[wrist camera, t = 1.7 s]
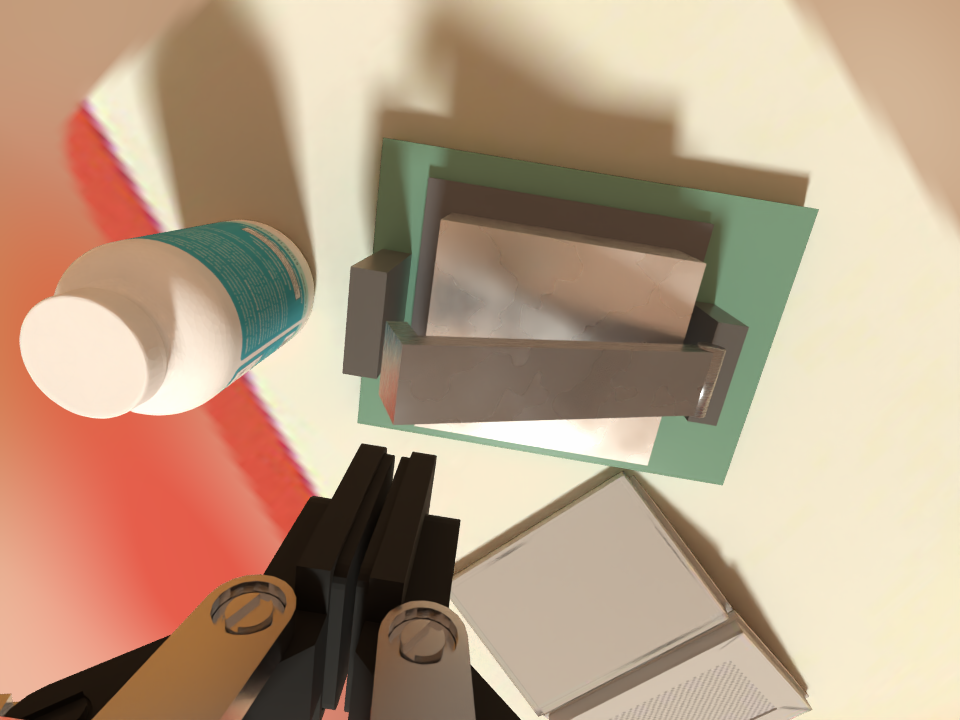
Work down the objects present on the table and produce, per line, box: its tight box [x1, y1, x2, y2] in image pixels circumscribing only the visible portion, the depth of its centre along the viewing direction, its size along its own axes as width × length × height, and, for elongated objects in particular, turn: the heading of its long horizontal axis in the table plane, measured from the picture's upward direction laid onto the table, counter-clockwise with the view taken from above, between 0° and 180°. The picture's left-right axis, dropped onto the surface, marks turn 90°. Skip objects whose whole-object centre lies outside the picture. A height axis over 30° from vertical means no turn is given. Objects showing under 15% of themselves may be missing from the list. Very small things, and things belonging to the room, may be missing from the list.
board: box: [343, 138, 819, 485], centre depth 28 cm, size 22×16×7 cm
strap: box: [379, 321, 726, 425], centre depth 23 cm, size 15×3×3 cm, turn 81°
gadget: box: [450, 471, 812, 720], centre depth 37 cm, size 23×15×4 cm, turn 39°
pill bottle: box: [20, 220, 314, 418], centre depth 26 cm, size 8×7×14 cm
